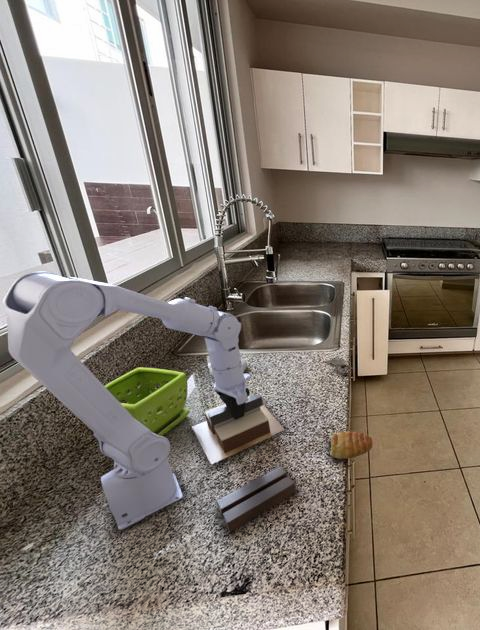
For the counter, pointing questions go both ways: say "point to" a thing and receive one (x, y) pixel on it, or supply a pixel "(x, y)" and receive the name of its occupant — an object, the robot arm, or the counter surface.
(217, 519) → the counter surface
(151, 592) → the counter surface
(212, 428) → the cake back
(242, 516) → the stand
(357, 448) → the pastry
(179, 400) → the flower pot
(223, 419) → the knife
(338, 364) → the meat cleaver
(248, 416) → the cake front
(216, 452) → the cake board
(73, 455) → the counter surface
